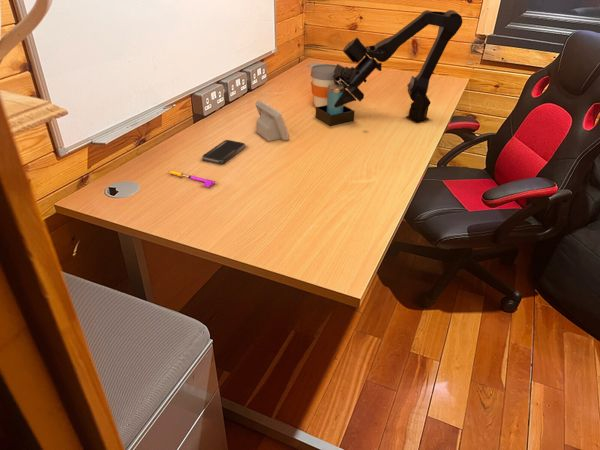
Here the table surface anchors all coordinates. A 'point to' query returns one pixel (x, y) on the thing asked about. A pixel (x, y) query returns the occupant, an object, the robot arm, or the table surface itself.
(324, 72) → the reusable coffee cup
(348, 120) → the tray
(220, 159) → the phone
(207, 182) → the multicoloured piece
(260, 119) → the digital clock
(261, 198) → the table surface
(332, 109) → the tin
